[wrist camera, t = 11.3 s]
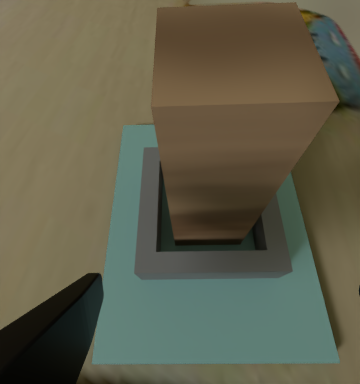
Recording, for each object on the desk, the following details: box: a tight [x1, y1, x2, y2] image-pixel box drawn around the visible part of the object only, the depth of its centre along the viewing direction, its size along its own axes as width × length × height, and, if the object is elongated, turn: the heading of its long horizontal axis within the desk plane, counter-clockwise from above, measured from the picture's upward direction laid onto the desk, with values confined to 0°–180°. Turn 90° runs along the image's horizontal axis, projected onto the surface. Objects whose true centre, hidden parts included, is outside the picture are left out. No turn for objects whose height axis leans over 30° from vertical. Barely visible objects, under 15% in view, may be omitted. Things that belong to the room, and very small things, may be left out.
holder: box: [92, 125, 340, 364], centre depth 17 cm, size 18×14×4 cm
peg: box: [151, 2, 339, 246], centre depth 12 cm, size 4×4×12 cm
